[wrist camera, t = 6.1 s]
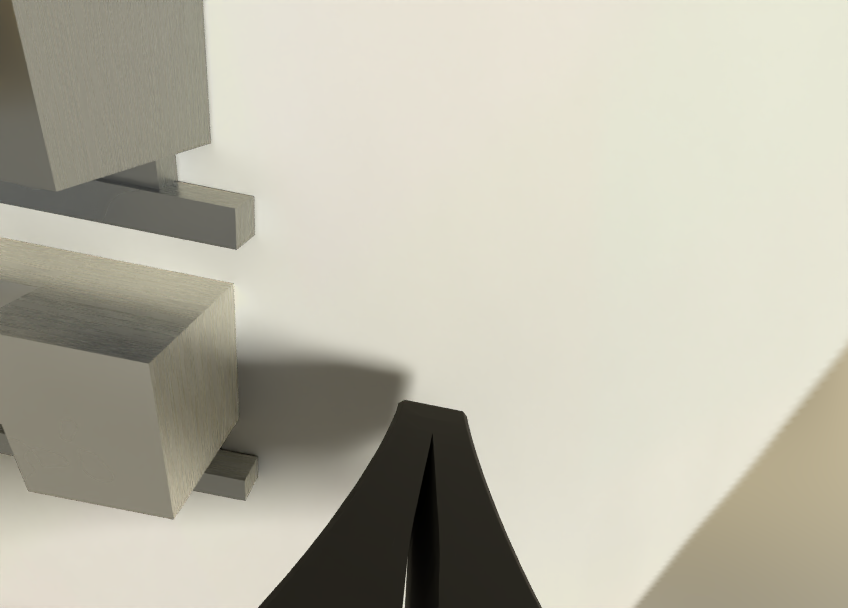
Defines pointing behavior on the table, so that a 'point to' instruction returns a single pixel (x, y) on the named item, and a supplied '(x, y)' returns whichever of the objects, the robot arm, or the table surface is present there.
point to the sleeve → (171, 216)
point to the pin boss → (100, 90)
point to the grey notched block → (113, 376)
